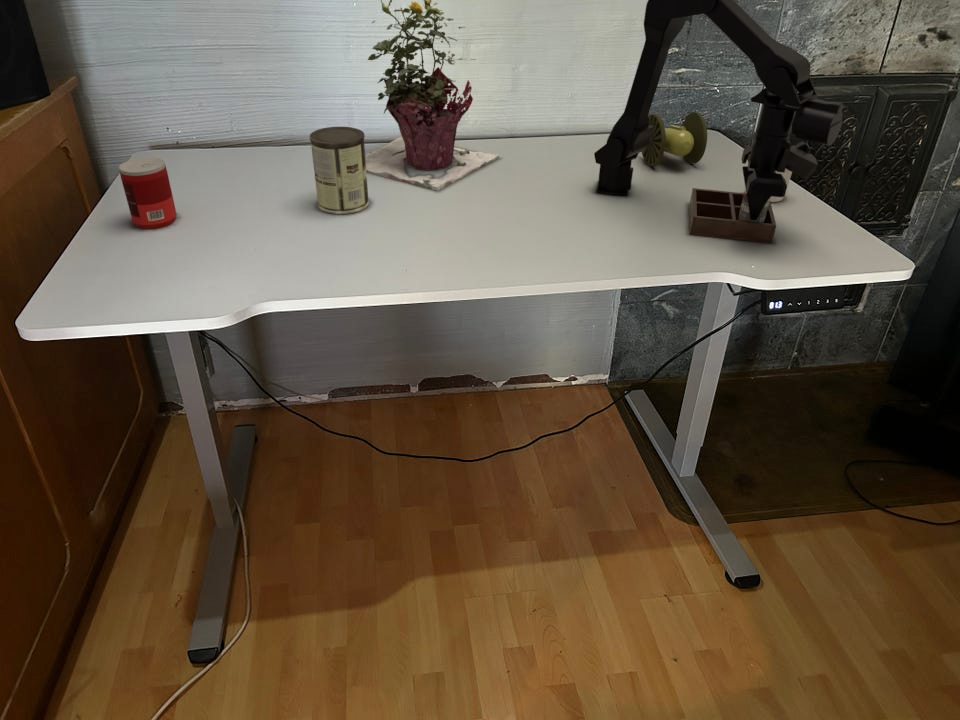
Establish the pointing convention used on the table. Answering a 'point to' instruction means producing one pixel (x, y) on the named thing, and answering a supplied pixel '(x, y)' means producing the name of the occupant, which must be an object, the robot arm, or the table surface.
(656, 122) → the cannon
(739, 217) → the pill bottle
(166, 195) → the canned food
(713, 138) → the table surface
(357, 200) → the coffee can
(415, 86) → the potted flower
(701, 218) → the rack
